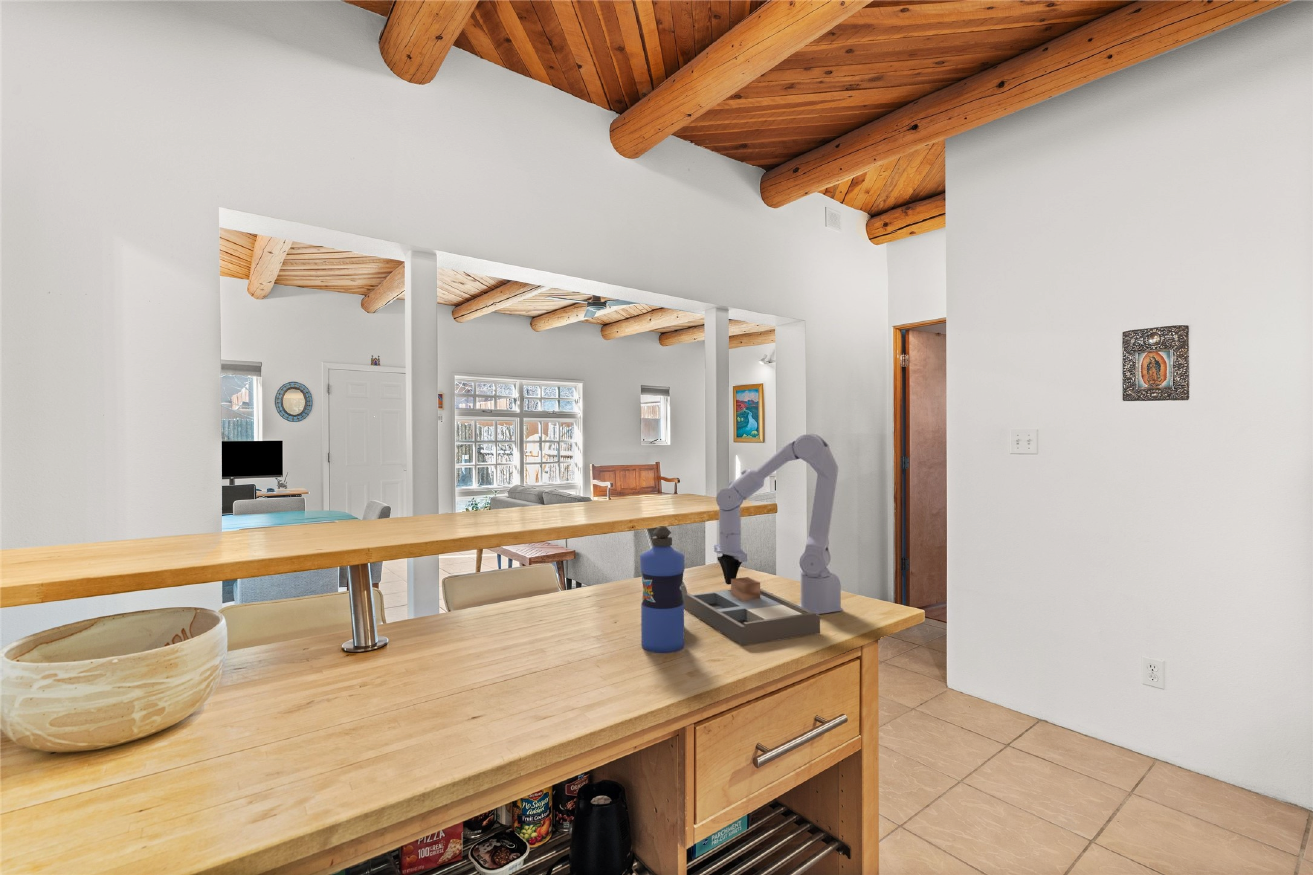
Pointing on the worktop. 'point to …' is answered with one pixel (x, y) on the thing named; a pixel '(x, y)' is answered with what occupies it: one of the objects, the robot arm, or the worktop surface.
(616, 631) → the worktop surface
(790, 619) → the box
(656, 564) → the water bottle
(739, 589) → the block
